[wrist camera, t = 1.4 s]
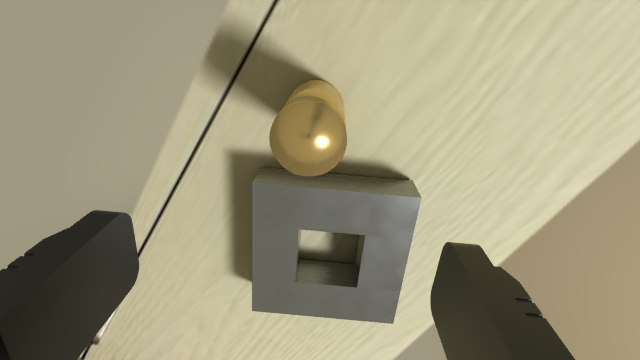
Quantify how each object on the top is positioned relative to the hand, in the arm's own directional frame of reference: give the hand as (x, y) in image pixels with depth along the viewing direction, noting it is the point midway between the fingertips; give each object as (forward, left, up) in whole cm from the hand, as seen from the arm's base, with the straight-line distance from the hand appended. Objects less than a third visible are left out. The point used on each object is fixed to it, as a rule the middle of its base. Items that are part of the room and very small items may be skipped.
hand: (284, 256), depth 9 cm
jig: (+11, +2, -18) cm, 21 cm away
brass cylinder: (0, 0, -18) cm, 18 cm away
